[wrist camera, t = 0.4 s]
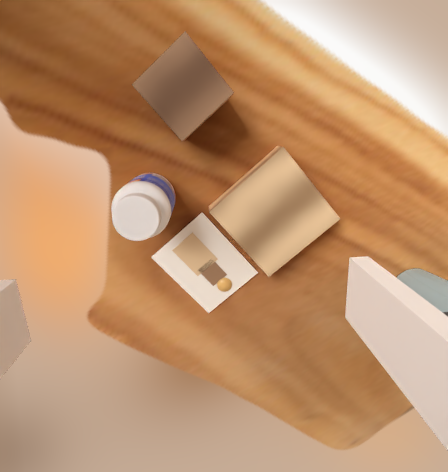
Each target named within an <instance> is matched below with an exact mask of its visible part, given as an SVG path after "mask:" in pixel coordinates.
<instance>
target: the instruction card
mask: <svg viewBox="0 0 448 472" xmlns="http://www.w3.org/2000/svg"><path fill="white" fill-rule="evenodd" d="M151 258H152V259H153V260H154V261H155V262H156V263H157V264H158V265H159V266H160V267H162V268H163V269H164V270H165V271H166V272H167V273H168V274H169V275H170V276H171V277H172V278H173V279H174V280H175V281H176V282H177V283H178V284H179V285H180V286H181V287H182V288H183V289H184V290H185V291H186V292H187V293H188V294H189V295H190V296H191V297H192V298H193V299H194V300H196V301H197V302H198V303H199V304H200V305H201V306H202V307H203V308H204V309H205V310H206V311H207V312H208V313H210V312H211V311H212V310H213V309H215V308H216V307H217V306H218V305H219V304H221V303H222V302H223V301H224V300H225V299H227V298H228V297H229V296H230V295H232V294H233V293H234V292H235V291H236V290H238V289H239V288H240V287H241V286H243V285H244V284H245V283H246V282H247V281H249V280H250V279H251V278H252V277H254V276H255V275H256V274H257V273H258V272H257V271H256V270H255V268H254V267H253V266H252V265H251V264H250V263H249V262H248V261H247V260H246V259H245V258H244V257H243V256H242V254H241V253H240V252H239V251H238V250H237V249H236V248H235V247H234V246H233V245H232V244H231V243H230V242H229V240H228V239H227V238H226V237H225V236H224V235H223V234H222V233H221V232H220V231H219V230H218V229H217V228H216V226H215V225H214V224H213V223H212V222H211V221H210V220H209V219H208V218H207V217H206V216H205V215H204V214H203V212H202V213H200V214H199V215H198V216H197V217H196V218H195V219H194V220H193V221H191V222H190V223H189V224H188V225H187V226H186V227H185V228H183V229H182V230H181V231H180V232H179V233H178V234H177V235H176V236H174V237H173V238H172V239H171V240H170V241H169V242H168V243H166V244H165V245H164V246H163V247H162V248H161V249H160V250H159V251H157V252H156V253H155V254H154V255H153V256H152V257H151Z"/></svg>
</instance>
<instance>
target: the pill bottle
mask: <svg viewBox="0 0 448 472" xmlns="http://www.w3.org/2000/svg"><path fill="white" fill-rule="evenodd" d="M175 201H176V196H175V191H174V188H173V186H172V185H171V183H170V182H169V181H168V180H167V179H166V178H165V177H163V176H161V175H159V174H156V173H144V174H141V175H139V176H137V177H135V178H134V179H132V180H131V181H130V182H128V183H127V184H126V185H124V186H123V187H122V188H121V189H120V190H119V191H118V192H117V193H116V195H115V196H114V198H113V201H112V207H111V210H112V221H113V225H114V227H115V229H116V230H117V232H118V233H119V234H120V235H121V236H123V237H124V238H126V239H129V240H132V241H142V240H145V239H148V238H151V237H154V236H156V235H158V234H159V233H161V232H162V231H163V230H164V229H165V227H166V226H167V224H168V222H169V220H170V217H171V214H172V211H173V208H174V206H175Z"/></svg>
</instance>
